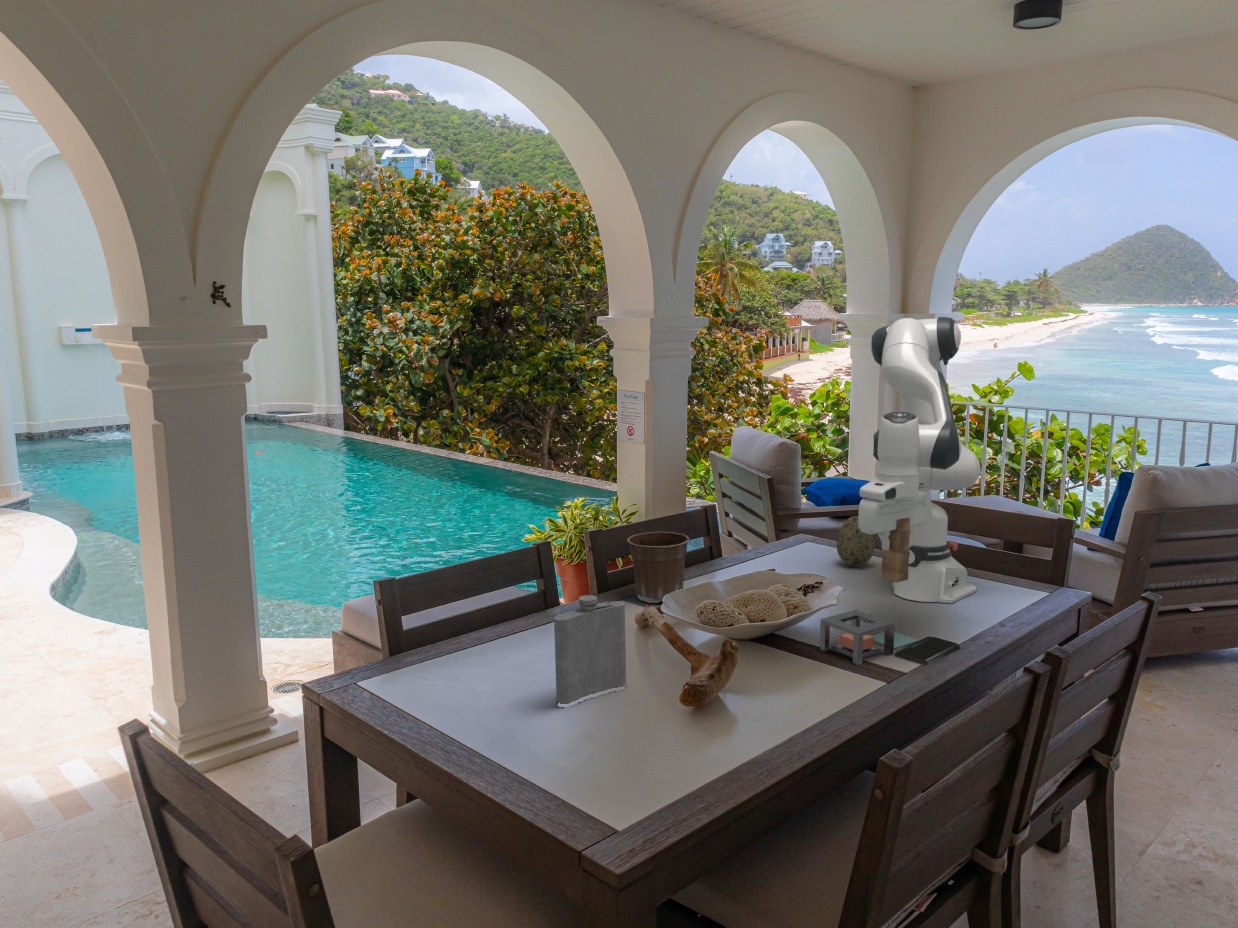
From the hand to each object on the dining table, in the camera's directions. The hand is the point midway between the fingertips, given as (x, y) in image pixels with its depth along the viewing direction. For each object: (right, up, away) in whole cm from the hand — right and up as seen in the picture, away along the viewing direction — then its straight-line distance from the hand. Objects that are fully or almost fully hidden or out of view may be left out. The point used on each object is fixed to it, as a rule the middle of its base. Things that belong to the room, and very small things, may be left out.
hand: (895, 547), depth 195 cm
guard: (-9, -23, -3) cm, 25 cm away
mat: (0, -21, +3) cm, 22 cm away
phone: (+6, -23, -3) cm, 24 cm away
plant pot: (-51, -17, +38) cm, 66 cm away
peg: (0, -7, +1) cm, 7 cm away
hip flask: (-67, -27, -22) cm, 75 cm away
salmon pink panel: (-9, -21, -3) cm, 23 cm away
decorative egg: (+8, -12, +64) cm, 65 cm away
